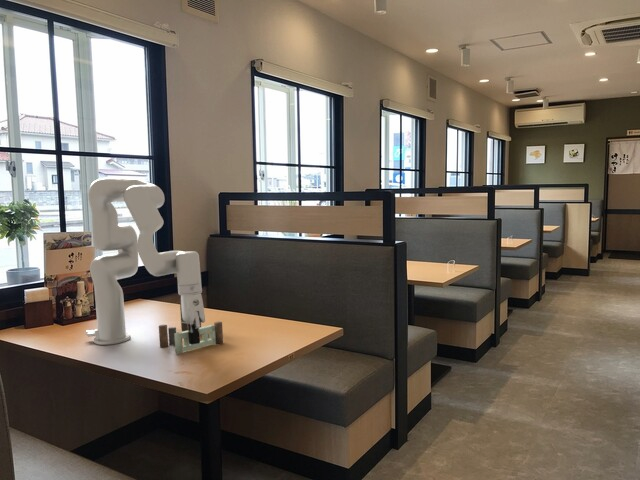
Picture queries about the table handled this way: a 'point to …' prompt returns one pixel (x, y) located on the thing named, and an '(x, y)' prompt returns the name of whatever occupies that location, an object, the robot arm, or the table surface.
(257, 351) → the table surface
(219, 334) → the gate posts
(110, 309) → the robot arm
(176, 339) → the gate
